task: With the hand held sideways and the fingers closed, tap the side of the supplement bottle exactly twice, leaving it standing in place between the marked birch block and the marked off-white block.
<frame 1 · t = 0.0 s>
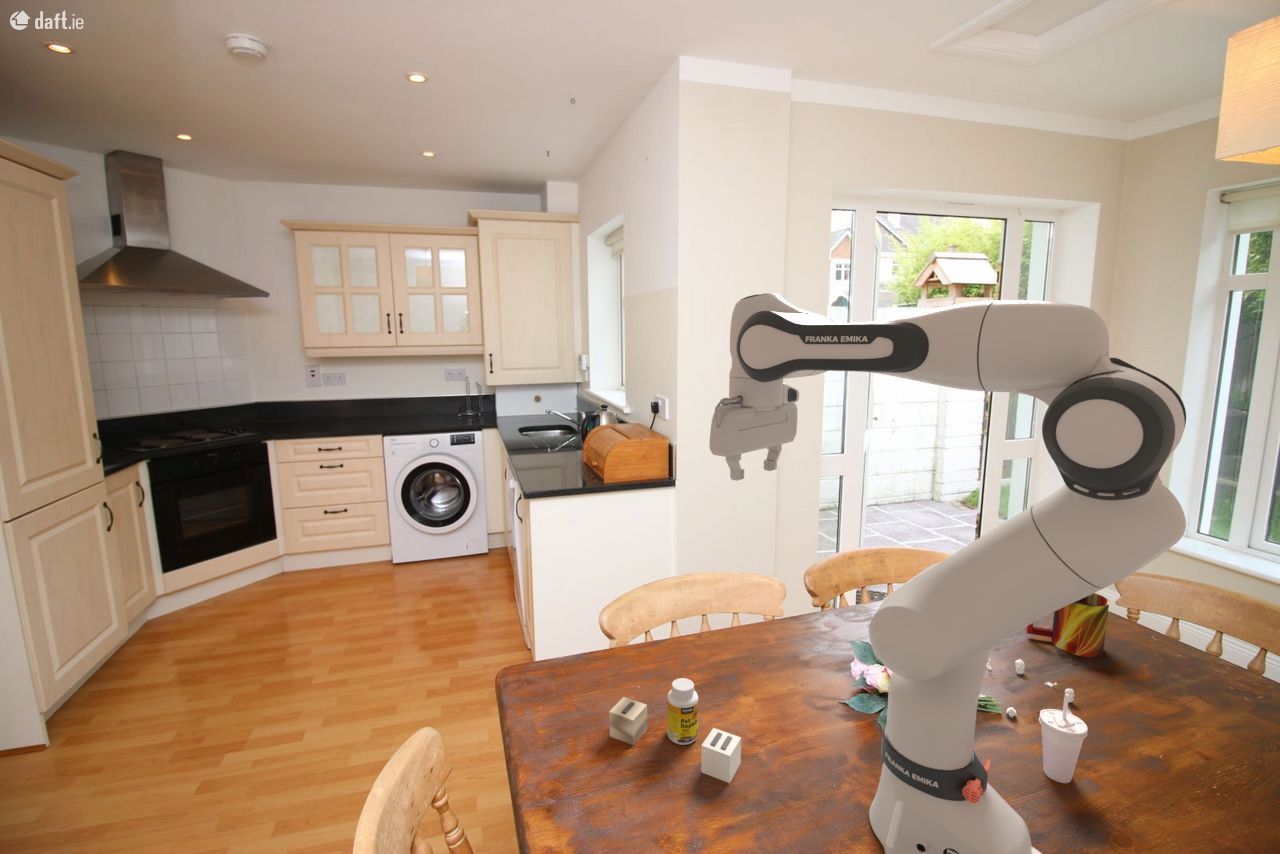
hand: (754, 474, 100), 48 cm above the table, tool pointing down, fingers open, 8 cm apart
smoothie: (1057, 775, 96), on the table
game piece set: (1015, 696, 117), on the table
marked off-white block: (721, 768, 98), on the table
supplement bottle: (682, 737, 106), on the table
mug: (1067, 646, 135), on the table
marked birch block: (628, 733, 107), on the table
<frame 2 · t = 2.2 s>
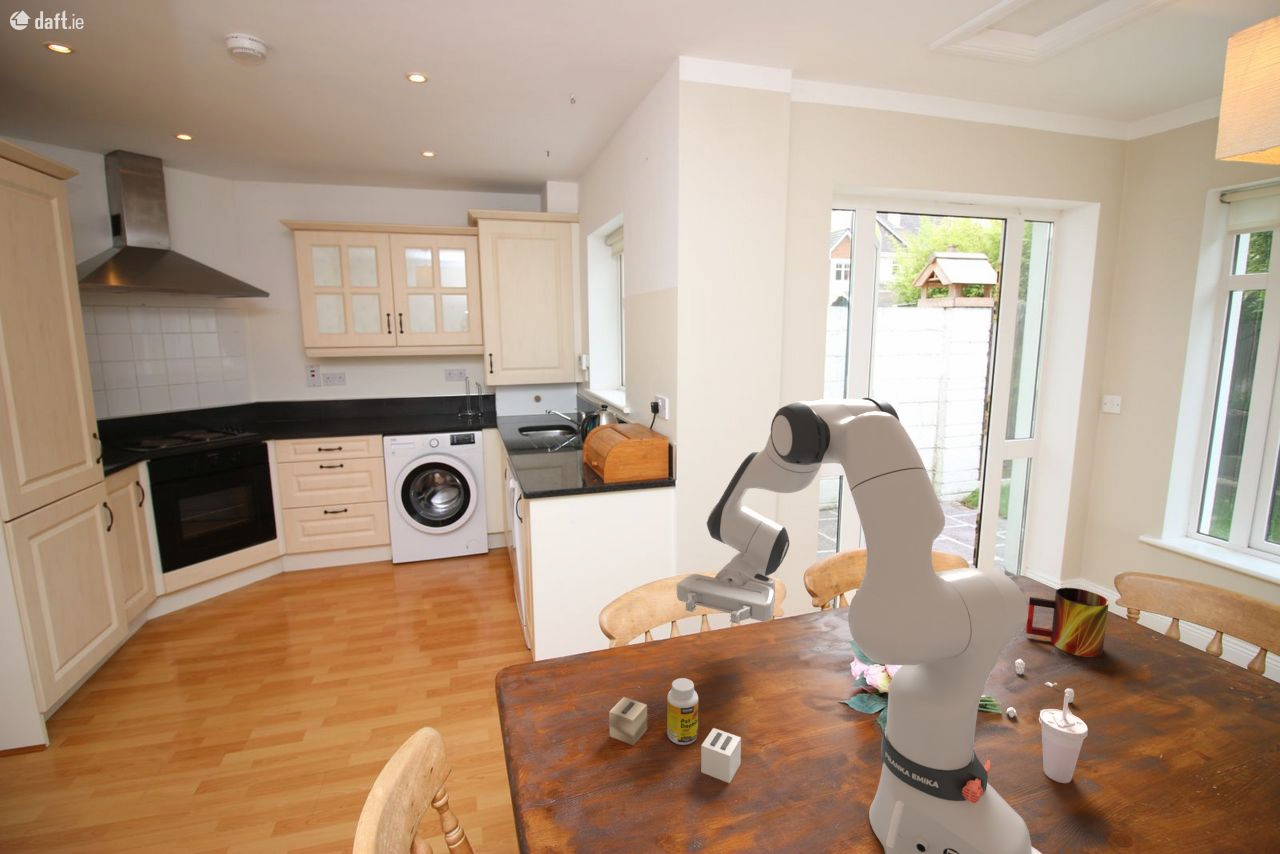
hand: (710, 613, 114), 18 cm above the table, tool horizontal, fingers open, 8 cm apart
nothing on the table moved.
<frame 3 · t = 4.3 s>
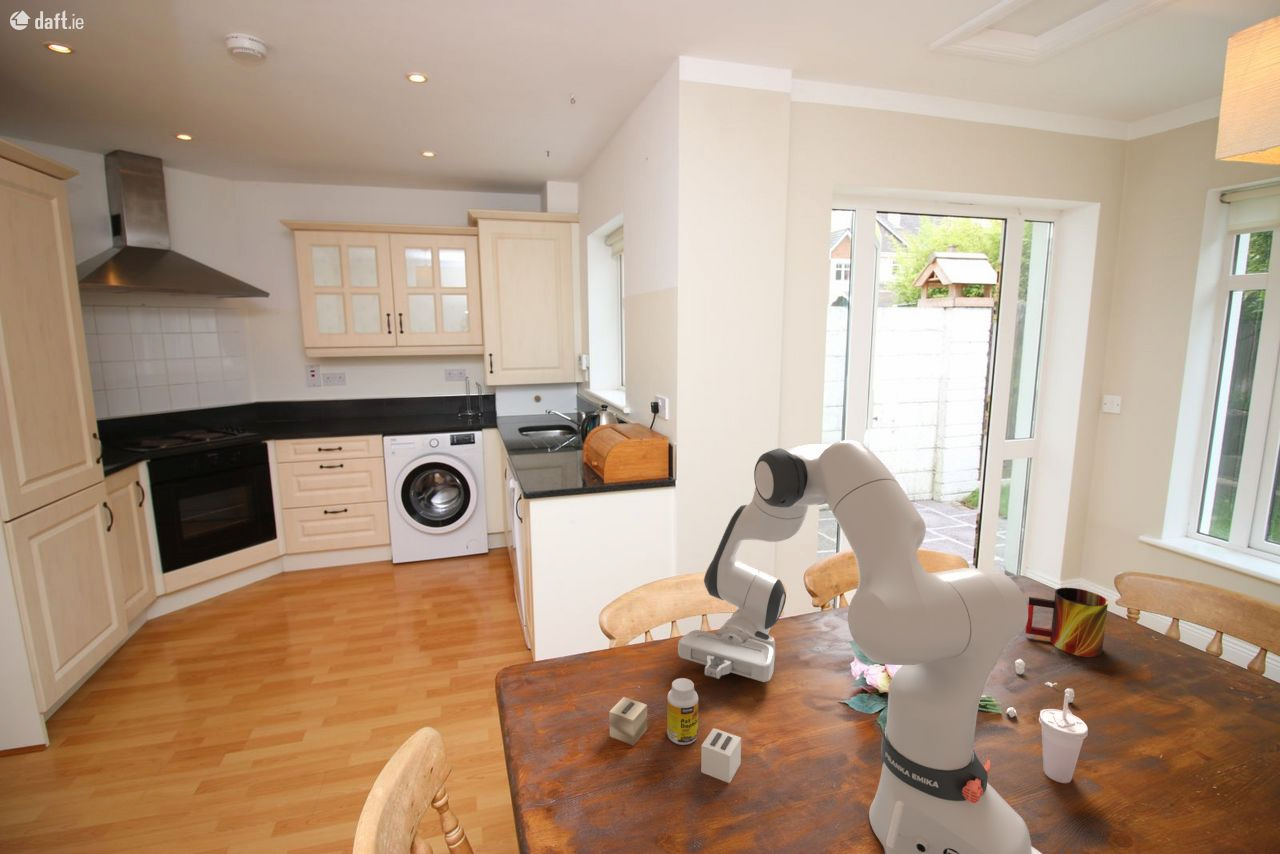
hand: (711, 673, 116), 5 cm above the table, tool horizontal, fingers closed
nothing on the table moved.
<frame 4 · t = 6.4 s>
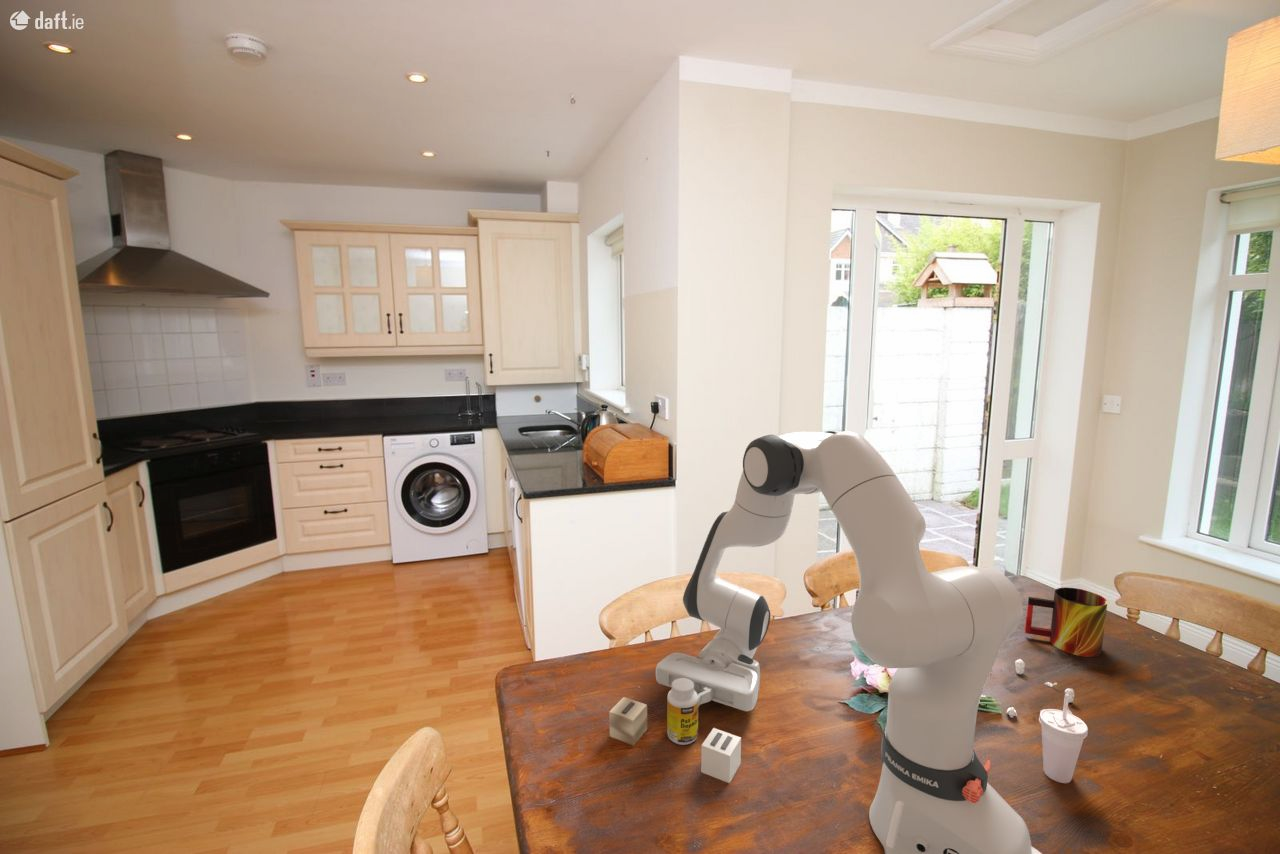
hand: (689, 702, 108), 5 cm above the table, tool horizontal, fingers closed, pressing on supplement bottle
supplement bottle: (682, 736, 106), on the table, touching gripper
everything else where it was.
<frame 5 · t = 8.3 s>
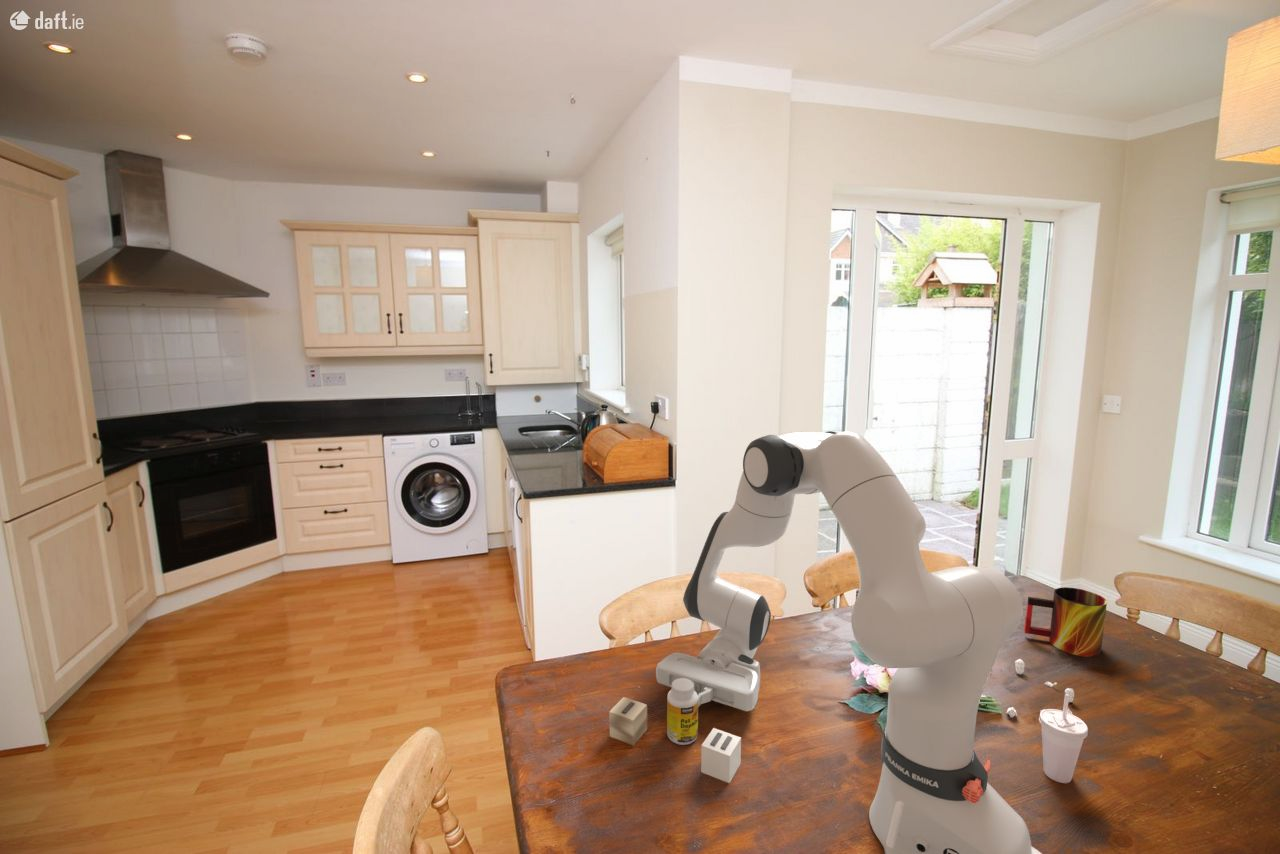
hand: (690, 702, 108), 5 cm above the table, tool horizontal, fingers closed
supplement bottle: (682, 737, 106), on the table
everything else where it was.
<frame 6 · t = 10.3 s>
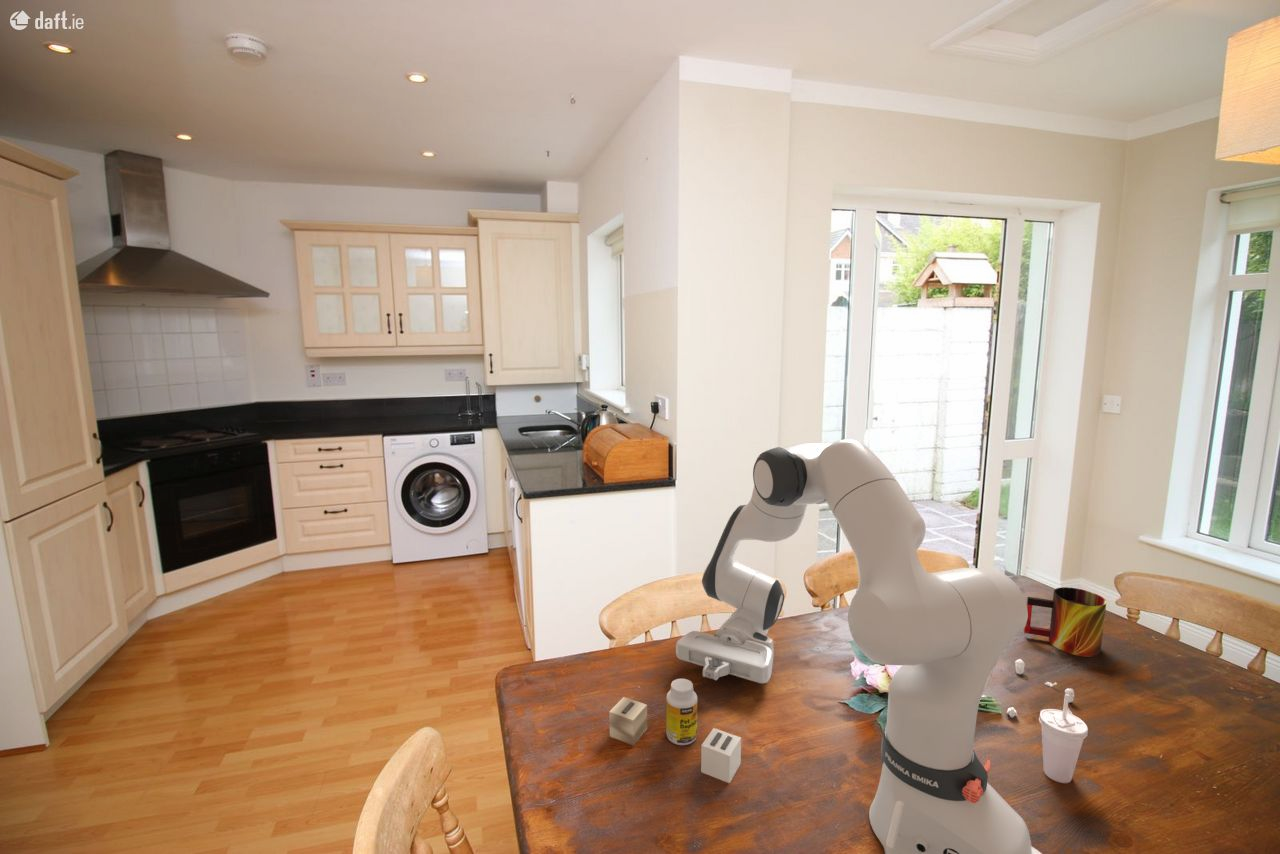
hand: (709, 675, 116), 5 cm above the table, tool horizontal, fingers closed
nothing on the table moved.
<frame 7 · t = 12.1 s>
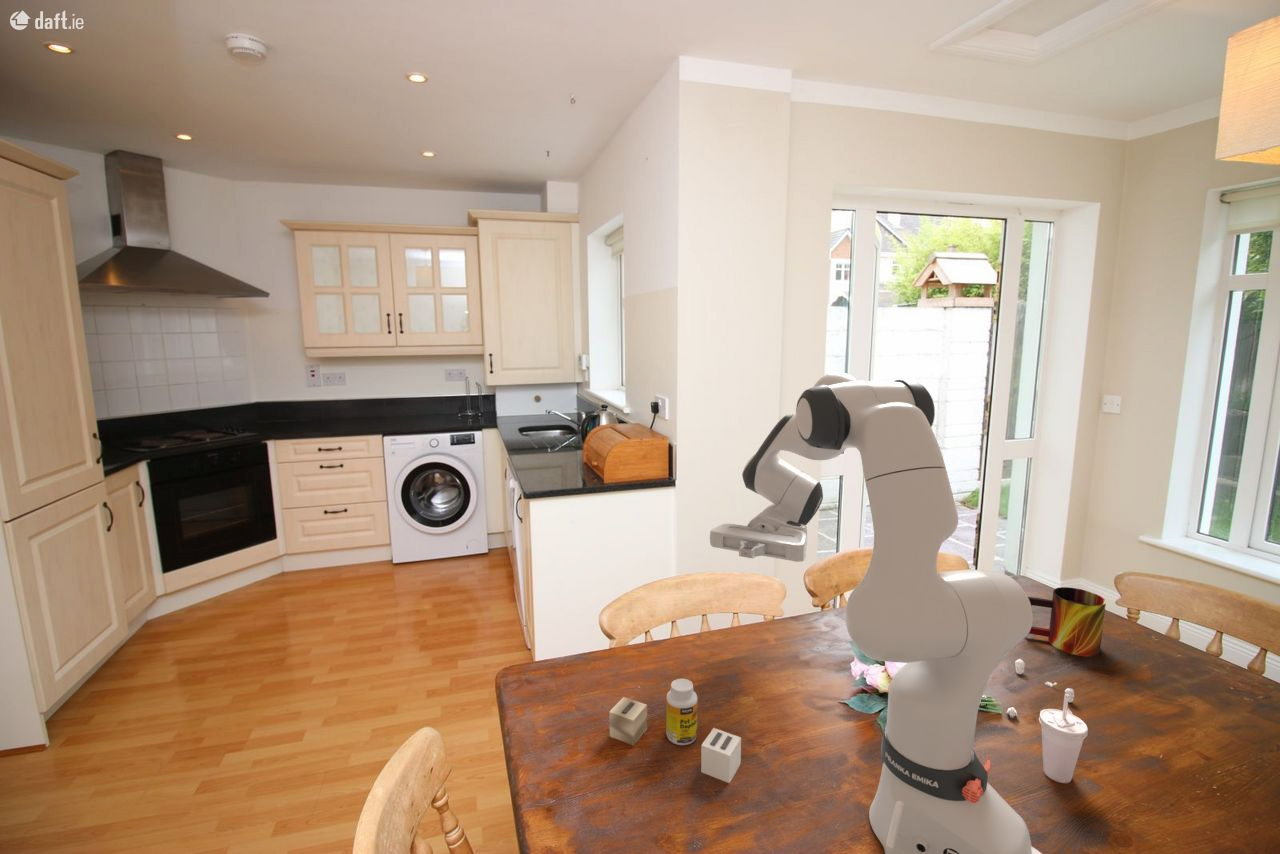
hand: (745, 553, 117), 28 cm above the table, tool horizontal, fingers closed
nothing on the table moved.
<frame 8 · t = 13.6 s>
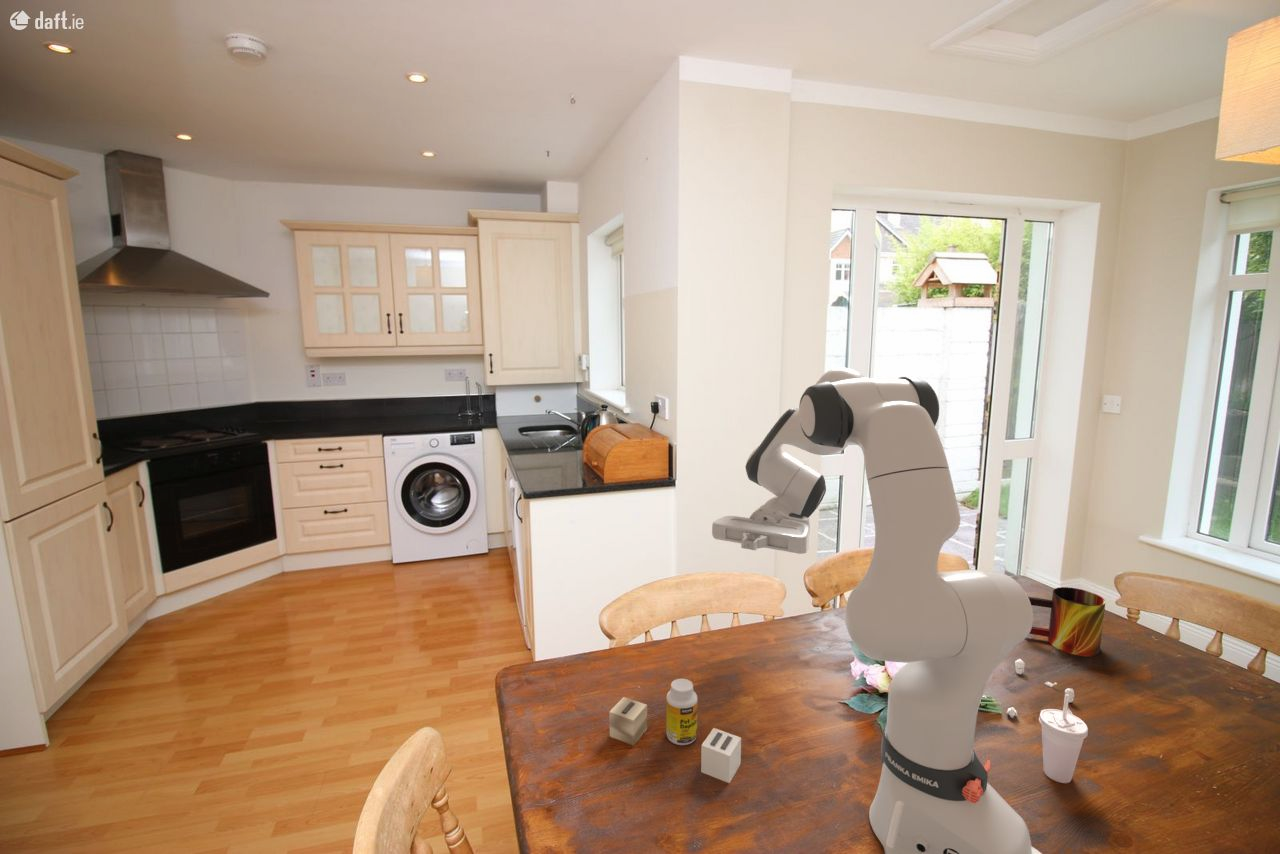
hand: (748, 545, 117), 30 cm above the table, tool horizontal, fingers closed
nothing on the table moved.
at the end: supplement bottle moved 0.3 cm from its start; supplement bottle tilted 0°; marked off-white block moved 0.1 cm from its start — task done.
